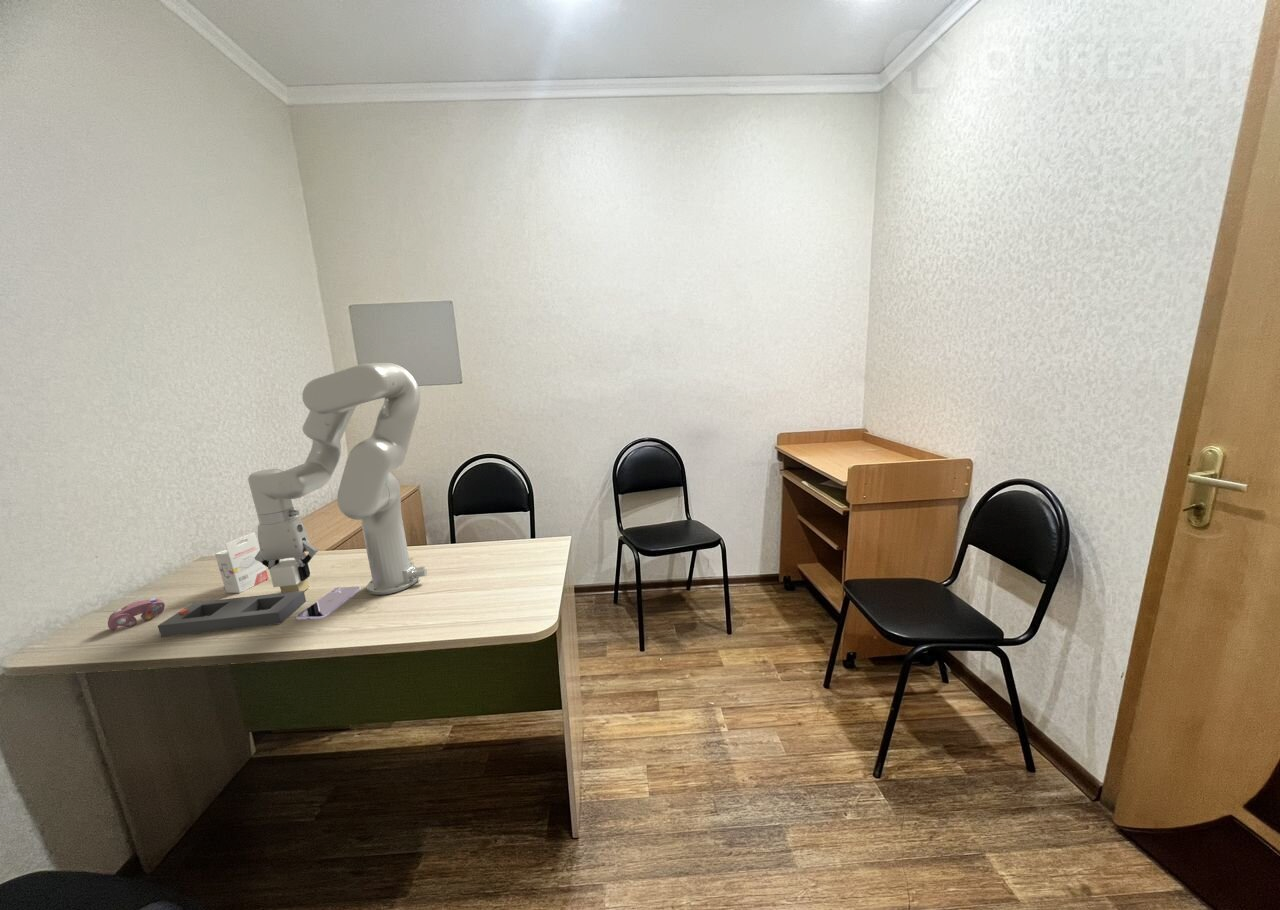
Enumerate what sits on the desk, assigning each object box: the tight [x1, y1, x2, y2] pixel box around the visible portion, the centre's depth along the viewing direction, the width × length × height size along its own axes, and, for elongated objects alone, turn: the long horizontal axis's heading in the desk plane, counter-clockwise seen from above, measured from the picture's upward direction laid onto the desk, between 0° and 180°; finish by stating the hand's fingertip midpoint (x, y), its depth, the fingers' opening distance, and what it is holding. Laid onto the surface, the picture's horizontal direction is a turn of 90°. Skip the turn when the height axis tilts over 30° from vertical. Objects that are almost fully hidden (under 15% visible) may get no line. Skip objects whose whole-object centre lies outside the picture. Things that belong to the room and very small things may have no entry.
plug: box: [268, 558, 312, 593], centre depth 125 cm, size 6×7×8 cm
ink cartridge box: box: [214, 532, 269, 594], centre depth 131 cm, size 9×5×15 cm, turn 168°
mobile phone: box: [295, 586, 362, 620], centre depth 120 cm, size 8×1×15 cm
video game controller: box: [107, 597, 166, 631], centre depth 115 cm, size 10×5×7 cm, turn 148°
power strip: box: [157, 591, 307, 638], centre depth 115 cm, size 26×10×4 cm, turn 97°
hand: (293, 579), depth 126 cm, fingers closed on plug, 5 cm apart
